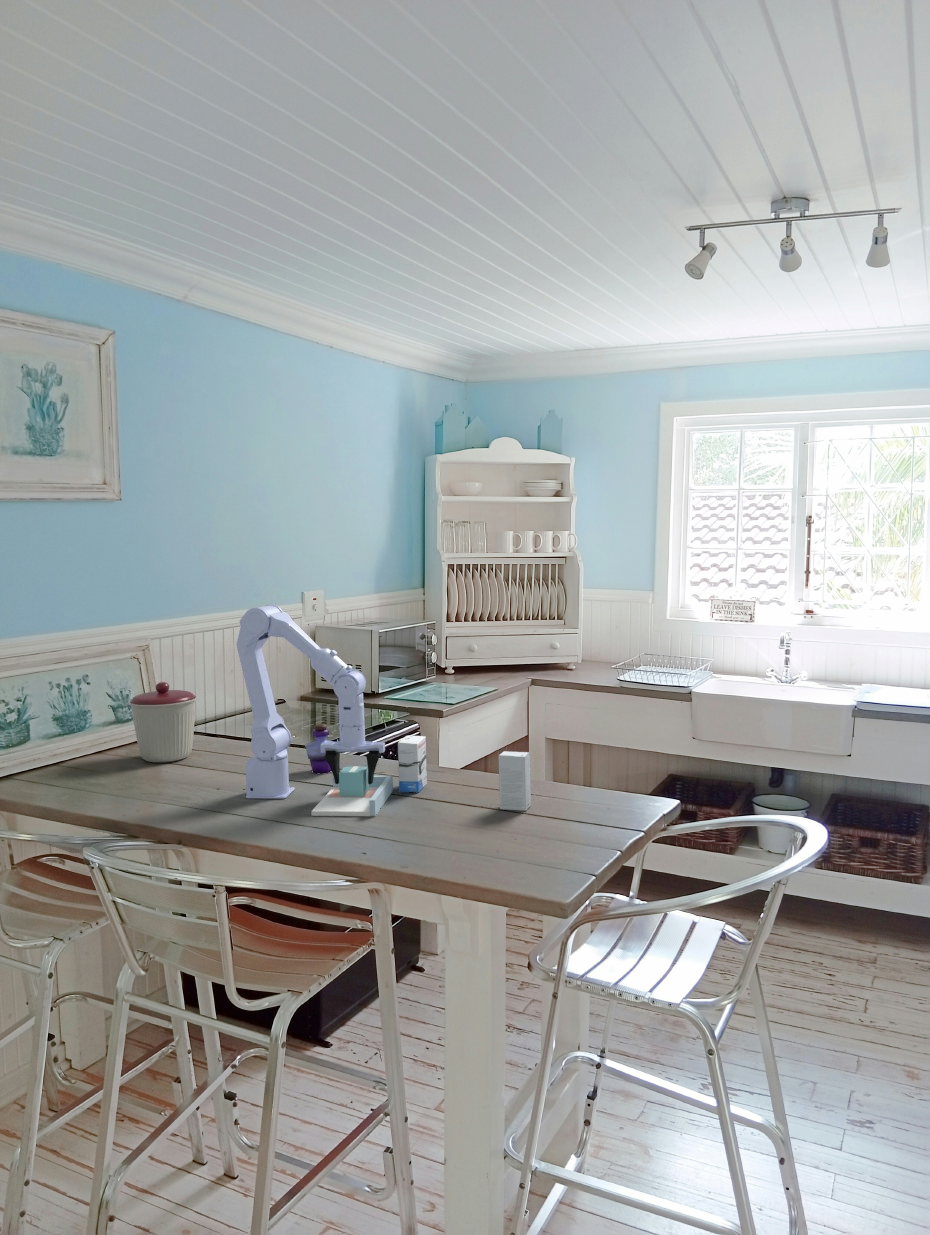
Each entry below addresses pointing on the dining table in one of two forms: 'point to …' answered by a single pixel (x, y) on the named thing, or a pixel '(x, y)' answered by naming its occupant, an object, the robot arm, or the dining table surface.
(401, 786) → the ink box
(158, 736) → the canister
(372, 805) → the tray
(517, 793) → the skincare box
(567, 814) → the dining table surface
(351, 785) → the cube
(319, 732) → the potion bottle
